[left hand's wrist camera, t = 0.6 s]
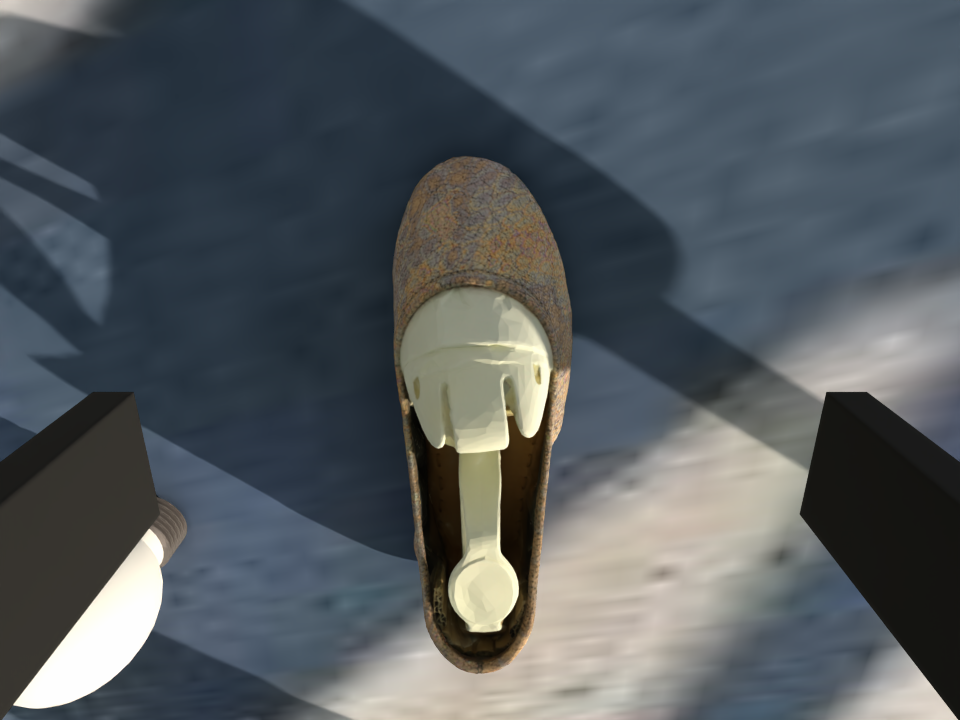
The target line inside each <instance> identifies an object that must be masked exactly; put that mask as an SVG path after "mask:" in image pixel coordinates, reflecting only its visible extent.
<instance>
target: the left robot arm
mask: <svg viewBox="0 0 960 720" xmlns="http://www.w3.org/2000/svg"><path fill="white" fill-rule="evenodd" d="M159 515H160V511H159V506H158V502H157V497H156V493H155V488H154V483H153V479H152V474H151V470H150V465H149V460H148V456H147V451H146V447H145V442H144V438H143V433H142V428H141V424H140V419H139V415H138V410H137V406H136V401H135V396H134V392H93V393H91V394H90V395H89V396H87V397H86V398H85V399H83V400H82V401H81V402H79V403H78V404H77V405H75V406H74V407H73V408H71V409H70V410H69V411H67V412H66V413H65V414H63V415H62V416H61V417H59V418H58V419H57V420H55V421H54V422H53V423H51V424H50V425H49V426H47V427H46V428H45V429H44V430H42V431H41V432H40V433H38V434H37V435H36V436H34V437H33V438H32V439H30V440H29V441H28V442H26V443H25V444H24V445H22V446H21V447H20V448H18V449H17V450H16V451H14V452H13V453H12V454H10V455H9V456H8V457H6V458H5V459H4V460H2V461H1V462H0V720H2V719H3V717H4V716H5V715H6V714H7V712H8V711H9V710H10V708H11V707H12V706H13V704H14V703H15V702H16V701H17V699H18V698H19V697H20V695H21V694H22V693H23V691H24V690H25V689H26V688H27V686H28V685H29V684H30V682H31V681H32V680H33V679H34V677H35V676H36V675H37V673H38V672H39V671H40V669H41V668H42V667H43V666H44V664H45V663H46V662H47V660H48V659H49V658H50V656H51V655H52V654H53V653H54V651H55V650H56V649H57V647H58V646H59V645H60V644H61V642H62V641H63V640H64V638H65V637H66V636H67V634H68V633H69V632H70V631H71V629H72V628H73V627H74V625H75V624H76V623H77V622H78V620H79V619H80V618H81V616H82V615H83V614H84V612H85V611H86V610H87V609H88V607H89V606H90V605H91V603H92V602H93V601H94V599H95V598H96V597H97V596H98V594H99V593H100V592H101V590H102V589H103V588H104V587H105V585H106V584H107V583H108V581H109V580H110V579H111V577H112V576H113V575H114V574H115V572H116V571H117V570H118V568H119V567H120V566H121V564H122V563H123V562H124V561H125V559H126V558H127V557H128V555H129V554H130V553H131V552H132V550H133V549H134V548H135V546H136V545H137V544H138V542H139V541H140V540H141V539H142V537H143V536H144V535H145V533H146V532H147V531H148V529H149V528H150V527H151V526H152V524H153V523H154V522H155V520H156V519H157V518H158V517H159ZM800 515H801V517H802V518H803V519H804V520H805V522H806V523H807V524H808V526H809V527H810V528H811V529H812V531H813V532H814V533H815V535H816V536H817V537H818V539H819V540H820V541H821V542H822V544H823V545H824V546H825V548H826V549H827V550H828V552H829V553H830V554H831V555H832V557H833V558H834V559H835V561H836V562H837V563H838V564H839V566H840V567H841V568H842V570H843V571H844V572H845V574H846V575H847V576H848V577H849V579H850V580H851V581H852V583H853V584H854V585H855V587H856V588H857V589H858V590H859V592H860V593H861V594H862V596H863V597H864V598H865V599H866V601H867V602H868V603H869V605H870V606H871V607H872V609H873V610H874V611H875V612H876V614H877V615H878V616H879V618H880V619H881V620H882V622H883V623H884V624H885V625H886V627H887V628H888V629H889V631H890V632H891V633H892V634H893V636H894V637H895V638H896V640H897V641H898V642H899V644H900V645H901V646H902V647H903V649H904V650H905V651H906V653H907V654H908V655H909V657H910V658H911V659H912V660H913V662H914V663H915V664H916V666H917V667H918V668H919V669H920V671H921V672H922V673H923V675H924V676H925V677H926V679H927V680H928V681H929V682H930V684H931V685H932V686H933V688H934V689H935V690H936V691H937V693H938V694H939V695H940V697H941V698H942V699H943V701H944V702H945V703H946V704H947V706H948V707H949V708H950V710H951V711H952V712H953V714H954V715H955V716H956V717H957V719H958V720H960V462H959V461H958V460H956V459H955V458H954V457H952V456H951V455H950V454H948V453H947V452H946V451H944V450H943V449H942V448H940V447H939V446H938V445H936V444H935V443H934V442H932V441H931V440H930V439H928V438H927V437H926V436H924V435H923V434H922V433H920V432H919V431H918V430H916V429H915V428H914V427H913V426H911V425H910V424H909V423H907V422H906V421H905V420H903V419H902V418H901V417H899V416H898V415H897V414H895V413H894V412H893V411H891V410H890V409H889V408H887V407H886V406H885V405H883V404H882V403H881V402H879V401H878V400H877V399H875V398H874V397H873V396H871V395H870V394H869V393H867V392H826V396H825V401H824V406H823V410H822V415H821V419H820V424H819V428H818V433H817V438H816V442H815V447H814V451H813V456H812V460H811V465H810V470H809V474H808V479H807V483H806V488H805V492H804V497H803V502H802V506H801V511H800Z"/></svg>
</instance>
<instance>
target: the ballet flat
mask: <svg viewBox="0 0 960 720" xmlns="http://www.w3.org/2000/svg"><path fill="white" fill-rule="evenodd" d="M393 287H394V305H393V306H394V359H395V371H396V380H397V386H398V393H399V400H400V404H401V409H402V418H403V431H404V436H405V445H406V455H407V461H408V470H409V479H410V488H411V497H412V507H413V517H414V526H415V535H414V550H415V554H416V557H417V560H418V564H419V572H420V580H421V584H422V596H423V605H424V617H425V622H426V627H427V629H428V632H429V634H430V637H431V639H432V640H433V642H434V644H435V646H436V647H437V648H438V650H439V651H440V653H441V654H442V655H443V656H444V657H445V658H446V659H447V660H448V661H449V662H451V663H452V664H453V665H455V666H456V667H457V668H459V669H461V670H463V671H466V672H470V673H475V674H478V673H489V672H494V671H497V670H500V669H502V668H503V667H505V666H506V665H508V664H510V663H511V661H512V660H513V659H514V658H515V657H516V656H517V654H518V653H519V652H520V651H521V649H522V648H523V646H524V645H525V644H526V642H527V640H528V638H529V636H530V633H531V631H532V627H533V623H534V617H535V608H536V596H537V583H538V572H539V561H540V554H541V549H542V547H541V546H542V534H543V523H544V515H545V504H546V503H545V501H546V493H547V484H548V476H549V465H550V457H551V448H552V445H553V442H554V441H555V439H556V438H557V435H558V434H559V432H560V429H561V426H562V422H563V415H564V406H565V401H566V396H567V390H568V385H569V378H570V367H571V357H572V339H573V338H572V310H571V305H570V299H569V294H568V290H567V284H566V278H565V271H564V267H563V263H562V260H561V256H560V253H559V250H558V247H557V243H556V241H555V239H554V237H553V234H552V232H551V229H550V228H549V226H548V223H547V221H546V219H545V216H544V215H543V213H542V210H541V208H540V206H539V205H538V203H537V202H536V200H535V199H534V197H533V195H532V194H531V193H530V191H529V190H528V188H527V187H526V186H525V184H524V183H523V182H522V181H521V180H520V179H519V177H517V176H516V175H515V174H513V173H512V172H511V171H510V169H509V168H507V167H505V166H503V165H501V164H499V163H497V162H494V161H491V160H488V159H484V158H478V157H471V156H461V157H453V158H451V159H449V160H447V161H445V162H443V163H440V164H438V165H437V166H435V167H434V168H433V169H432V170H431V171H429V172H428V173H427V174H426V175H425V176H424V177H423V178H422V179H421V180H420V181H419V183H418V184H417V185H416V187H415V188H414V191H413V193H412V195H411V198H410V200H409V201H408V204H407V207H406V210H405V212H404V215H403V218H402V222H401V225H400V228H399V231H398V238H397V242H396V247H395V253H394V261H393Z"/></svg>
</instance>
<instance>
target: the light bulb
mask: <svg viewBox="0 0 960 720" xmlns="http://www.w3.org/2000/svg"><path fill="white" fill-rule="evenodd" d="M157 502H158V506H159V511H160V515H159V517H158V518H157V519H156V520H155V522H154V523H153V524H152V526H151V527H150V528H149V529H148V531H147V532H146V533H145V535H144V536H143V537H142V539H141V540H140V541H139V542H138V544H137V545H136V546H135V548H134V549H133V550H132V552H131V553H130V554H129V555H128V557H127V558H126V559H125V561H124V562H123V563H122V564H121V566H120V567H119V568H118V570H117V571H116V572H115V574H114V575H113V576H112V577H111V579H110V580H109V581H108V583H107V584H106V585H105V587H104V588H103V589H102V590H101V592H100V593H99V594H98V596H97V597H96V598H95V599H94V601H93V602H92V603H91V605H90V606H89V607H88V609H87V610H86V611H85V612H84V614H83V615H82V616H81V618H80V619H79V620H78V622H77V623H76V624H75V625H74V627H73V628H72V629H71V631H70V632H69V633H68V634H67V636H66V637H65V638H64V640H63V641H62V642H61V644H60V645H59V646H58V647H57V649H56V650H55V651H54V653H53V654H52V655H51V656H50V658H49V659H48V660H47V662H46V663H45V664H44V666H43V667H42V668H41V669H40V671H39V672H38V673H37V675H36V676H35V677H34V679H33V680H32V681H31V682H30V684H29V685H28V686H27V688H26V689H25V690H24V691H23V693H22V694H21V695H20V697H19V698H18V699H17V701H16V702H15V703H14V704H13V705H16V706H21V707H26V708H47V707H53V706H58V705H63V704H66V703H70V702H72V701H74V700H77V699H79V698H81V697H83V696H86V695H88V694H90V693H91V692H93V691H95V690H97V689H98V688H100V687H101V686H102V685H104V684H105V683H107V682H108V681H110V680H111V679H112V678H113V677H114V676H116V675H117V674H118V673H119V672H120V671H121V670H122V669H123V668H124V667H125V666H126V665H127V664H128V663H129V662H130V661H131V660H132V659H133V657H134V656H135V655H136V654H137V652H138V651H139V650H140V648H141V647H142V645H143V644H144V642H145V641H146V640H147V638H148V636H149V634H150V632H151V630H152V628H153V626H154V624H155V621H156V618H157V615H158V612H159V608H160V605H161V600H162V585H163V580H162V575H161V570H160V568H161V567H163V566H164V565H165V564H166V563H167V562H168V561H169V559H170V558H171V556H172V555H173V553H174V552H175V550H176V549H177V548H178V546H179V545H180V543H181V542H182V540H183V539H184V538H185V536H186V533H187V525H186V521H185V519H184V517H183V515H182V514H181V513H180V511H179V510H178V509H177V508H176V507H174V506H173V505H172V504H170V503H169V502H167V501H165V500H163V499H161V498H158V497H157Z"/></svg>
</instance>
